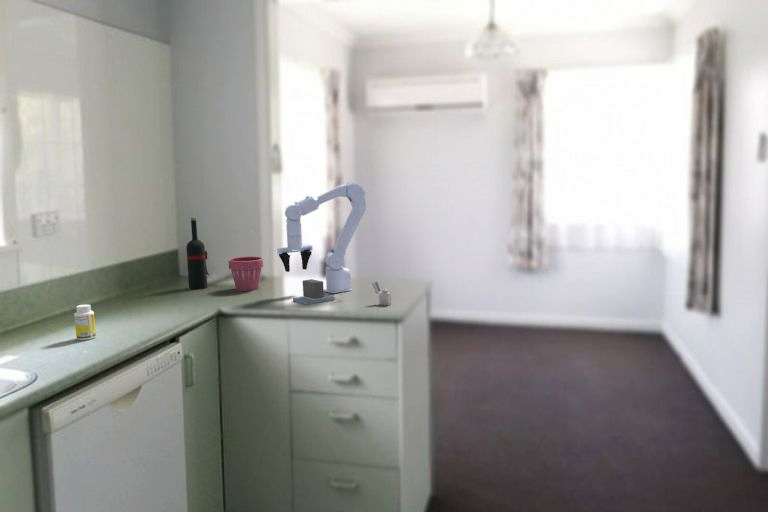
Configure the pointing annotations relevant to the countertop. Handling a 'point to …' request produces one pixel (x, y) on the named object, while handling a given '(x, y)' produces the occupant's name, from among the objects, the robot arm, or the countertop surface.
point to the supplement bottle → (85, 323)
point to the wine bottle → (196, 260)
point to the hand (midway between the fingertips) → (296, 270)
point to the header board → (310, 301)
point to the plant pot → (246, 272)
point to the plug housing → (313, 289)
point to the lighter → (382, 294)
